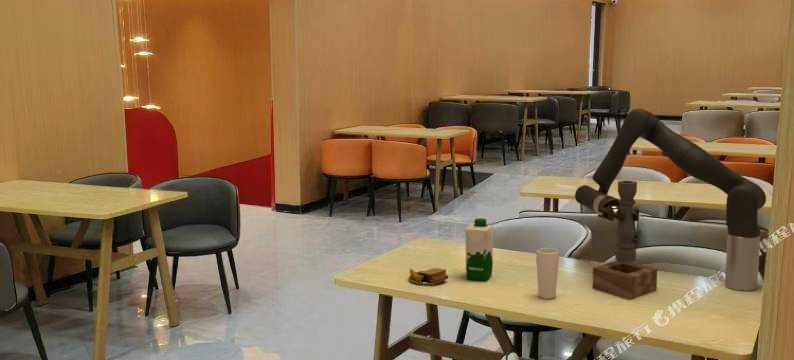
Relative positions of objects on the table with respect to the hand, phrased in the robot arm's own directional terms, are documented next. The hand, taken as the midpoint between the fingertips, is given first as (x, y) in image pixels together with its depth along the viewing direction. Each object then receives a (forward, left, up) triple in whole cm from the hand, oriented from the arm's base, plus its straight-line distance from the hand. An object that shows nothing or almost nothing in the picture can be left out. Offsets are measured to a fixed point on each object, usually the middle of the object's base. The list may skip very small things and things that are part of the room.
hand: (630, 218), depth 216 cm
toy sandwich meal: (+40, -51, -24) cm, 69 cm away
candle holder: (-1, -2, -14) cm, 14 cm away
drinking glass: (+23, -13, -24) cm, 36 cm away
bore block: (-1, -2, -24) cm, 24 cm away
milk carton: (+26, -41, -24) cm, 54 cm away
